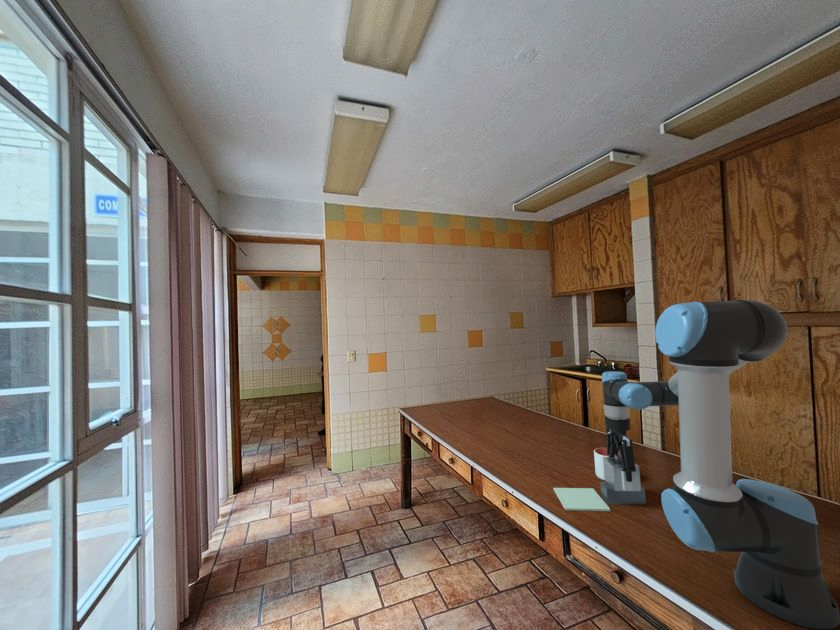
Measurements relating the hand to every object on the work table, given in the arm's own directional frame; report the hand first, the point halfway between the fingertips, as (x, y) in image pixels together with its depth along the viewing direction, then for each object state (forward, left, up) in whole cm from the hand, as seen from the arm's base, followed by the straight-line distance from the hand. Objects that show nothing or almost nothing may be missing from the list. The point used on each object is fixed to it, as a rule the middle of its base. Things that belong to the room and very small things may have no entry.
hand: (621, 484), depth 112 cm
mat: (0, +14, -6) cm, 15 cm away
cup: (+17, -3, -6) cm, 18 cm away
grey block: (0, 0, -6) cm, 6 cm away
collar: (0, 0, 0) cm, 0 cm away
